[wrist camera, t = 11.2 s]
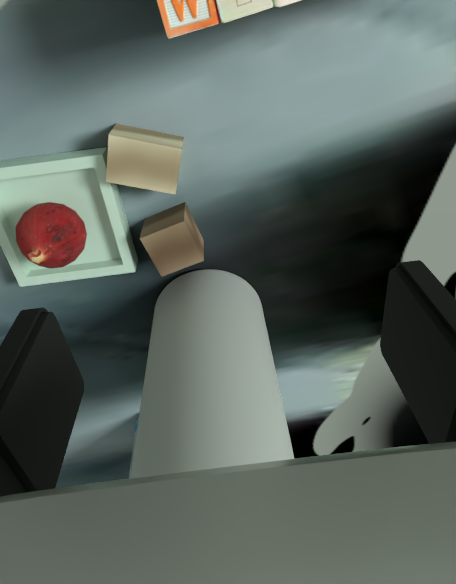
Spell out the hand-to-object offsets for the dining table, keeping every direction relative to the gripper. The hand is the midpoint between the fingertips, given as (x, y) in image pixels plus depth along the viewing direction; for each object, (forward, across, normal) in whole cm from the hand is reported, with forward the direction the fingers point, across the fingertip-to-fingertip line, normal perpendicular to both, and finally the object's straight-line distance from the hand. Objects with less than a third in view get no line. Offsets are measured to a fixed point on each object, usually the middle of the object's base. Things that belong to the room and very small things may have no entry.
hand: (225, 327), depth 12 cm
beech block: (+30, +6, +3) cm, 31 cm away
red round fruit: (+30, +15, +8) cm, 34 cm away
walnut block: (+30, +5, +11) cm, 33 cm away
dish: (+30, +15, +8) cm, 35 cm away
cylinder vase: (+31, +3, +22) cm, 38 cm away
